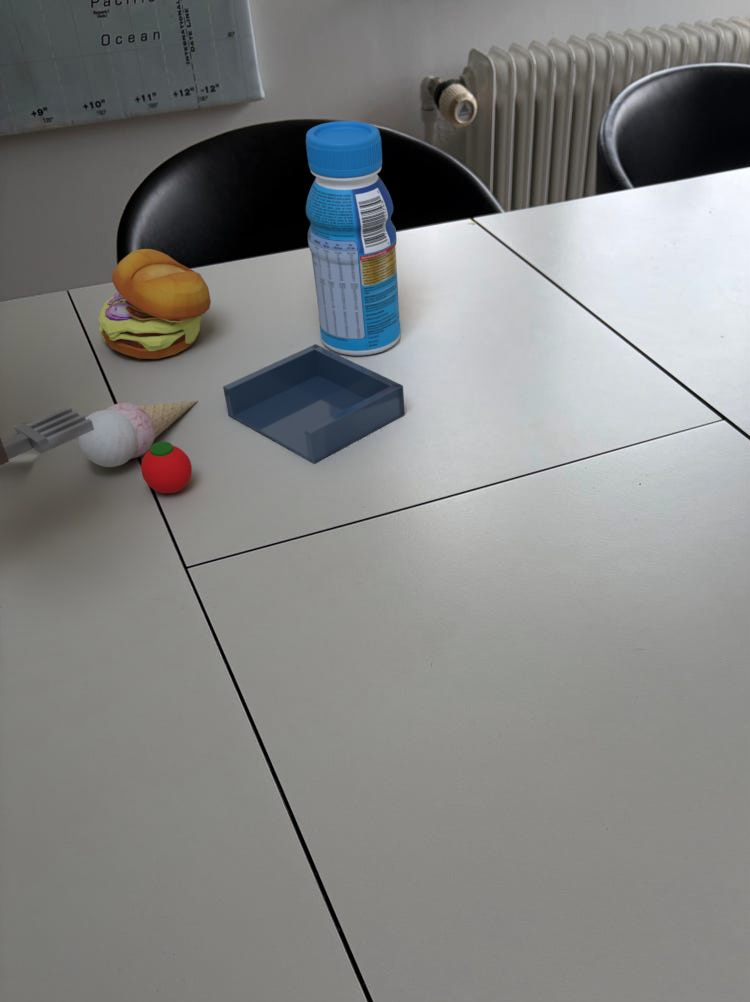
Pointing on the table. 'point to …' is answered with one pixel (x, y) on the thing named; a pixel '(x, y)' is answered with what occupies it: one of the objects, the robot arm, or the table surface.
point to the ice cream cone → (127, 430)
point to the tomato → (166, 468)
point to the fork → (45, 433)
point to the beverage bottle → (352, 239)
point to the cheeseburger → (153, 306)
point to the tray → (314, 402)
